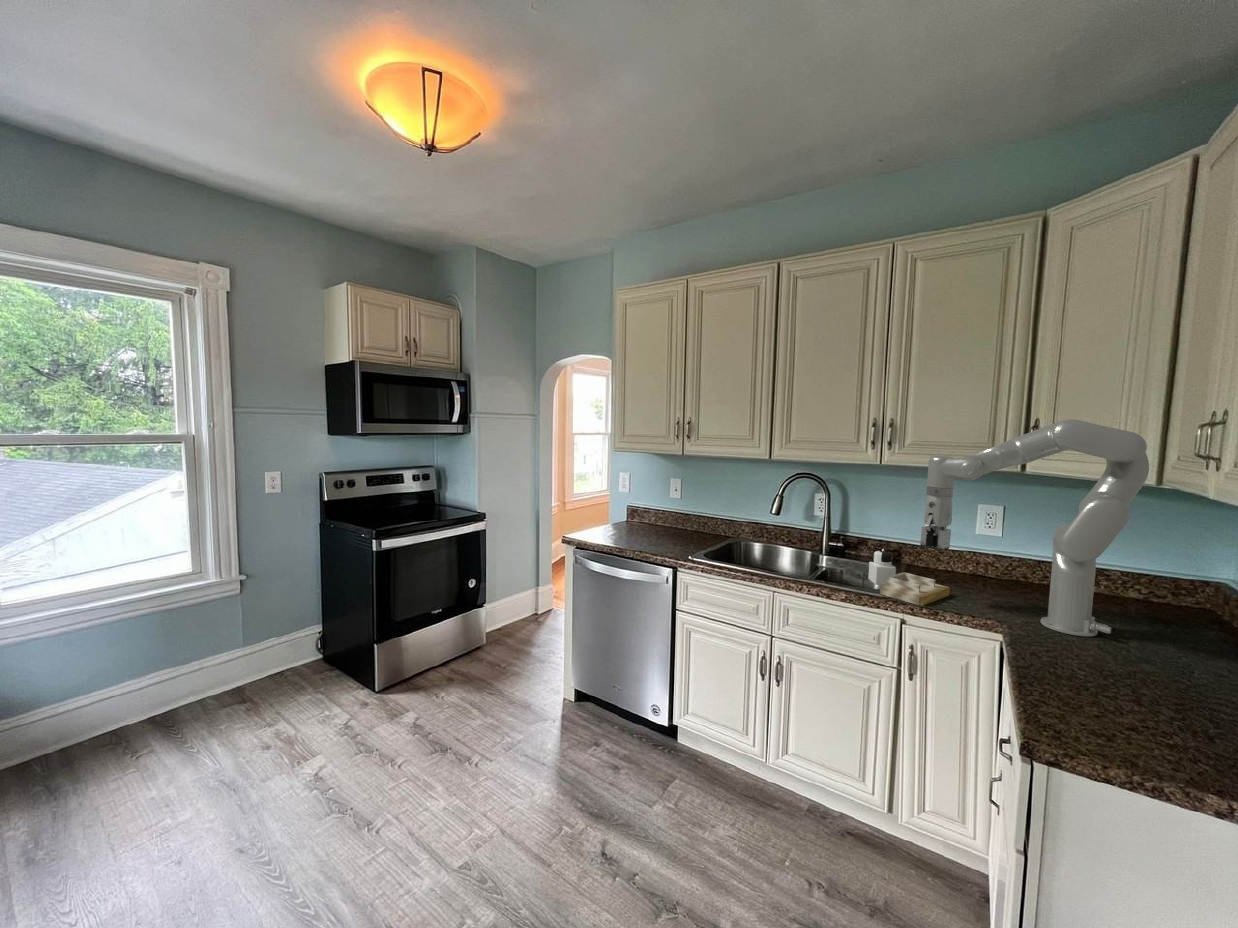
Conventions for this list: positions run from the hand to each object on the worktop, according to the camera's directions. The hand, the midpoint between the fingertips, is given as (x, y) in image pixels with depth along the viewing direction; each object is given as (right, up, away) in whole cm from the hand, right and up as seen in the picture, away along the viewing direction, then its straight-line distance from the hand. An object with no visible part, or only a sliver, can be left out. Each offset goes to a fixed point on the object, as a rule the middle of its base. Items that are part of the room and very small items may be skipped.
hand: (934, 544), depth 168 cm
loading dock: (-2, -19, +9) cm, 21 cm away
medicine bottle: (-6, -18, +23) cm, 30 cm away
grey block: (0, -1, 0) cm, 1 cm away
